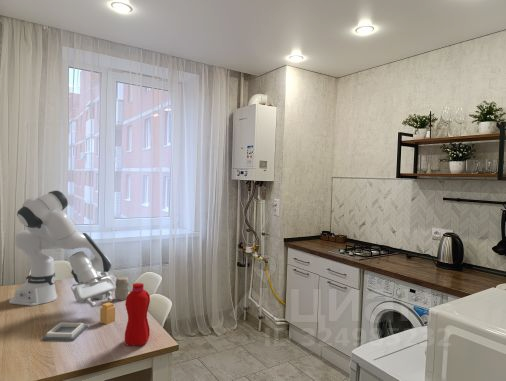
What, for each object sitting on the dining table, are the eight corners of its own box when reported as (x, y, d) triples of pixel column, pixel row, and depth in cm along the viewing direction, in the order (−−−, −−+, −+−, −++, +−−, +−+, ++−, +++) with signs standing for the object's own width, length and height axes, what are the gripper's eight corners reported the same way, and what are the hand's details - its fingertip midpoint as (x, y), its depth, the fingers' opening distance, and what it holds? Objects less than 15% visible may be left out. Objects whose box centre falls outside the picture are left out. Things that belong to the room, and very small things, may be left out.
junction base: (42, 340, 144) (42, 334, 144) (59, 326, 157) (59, 321, 157) (73, 340, 144) (73, 335, 144) (87, 327, 157) (87, 321, 157)
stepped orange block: (100, 322, 163) (100, 304, 163) (108, 318, 167) (108, 301, 167) (106, 324, 161) (107, 306, 161) (114, 321, 165) (115, 303, 165)
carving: (130, 299, 194) (131, 278, 194) (117, 302, 189) (117, 280, 189) (126, 295, 199) (126, 275, 198) (113, 298, 194) (113, 277, 193)
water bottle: (152, 334, 152) (153, 279, 151) (144, 347, 141) (146, 287, 140) (131, 334, 152) (132, 278, 151) (122, 346, 141) (123, 286, 140)
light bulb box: (102, 299, 192) (103, 280, 191) (92, 298, 193) (92, 279, 193) (114, 293, 202) (114, 275, 202) (104, 292, 204) (104, 274, 203)
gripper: (72, 281, 159) (86, 306, 155) (110, 271, 177) (122, 293, 173) (66, 289, 161) (79, 314, 157) (104, 278, 179) (116, 300, 175)
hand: (102, 303), depth 165 cm, fingers open, 8 cm apart
